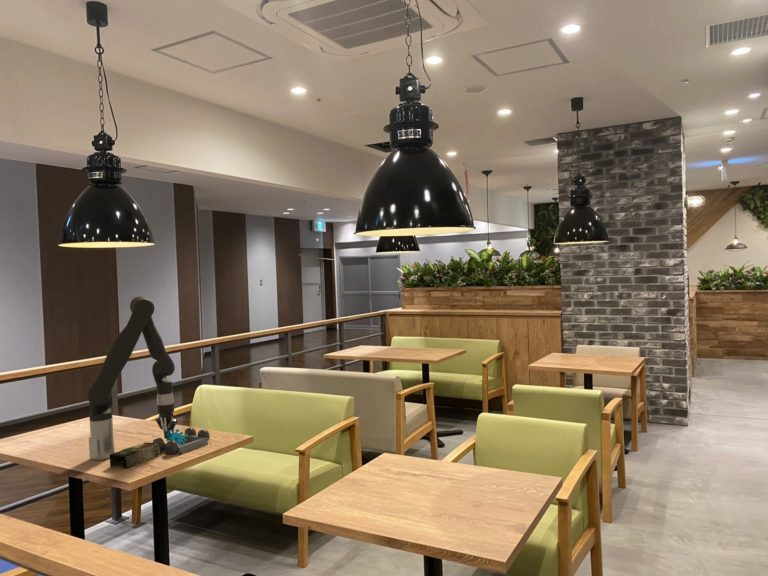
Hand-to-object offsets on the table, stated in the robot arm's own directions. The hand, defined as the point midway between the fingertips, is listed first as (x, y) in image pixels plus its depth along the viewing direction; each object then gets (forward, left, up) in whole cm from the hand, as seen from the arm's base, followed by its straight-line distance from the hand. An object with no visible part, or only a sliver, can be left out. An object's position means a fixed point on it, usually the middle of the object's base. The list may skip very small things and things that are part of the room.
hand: (167, 438), depth 276 cm
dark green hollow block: (-23, -7, -3) cm, 24 cm away
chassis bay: (0, -10, -3) cm, 10 cm away
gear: (0, -7, -3) cm, 7 cm away
